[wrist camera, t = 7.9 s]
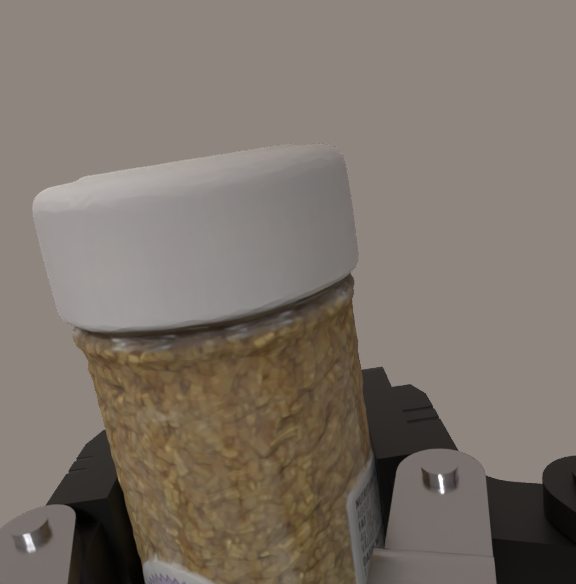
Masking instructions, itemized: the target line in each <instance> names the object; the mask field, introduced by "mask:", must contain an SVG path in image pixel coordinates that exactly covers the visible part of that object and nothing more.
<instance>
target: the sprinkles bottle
mask: <svg viewBox="0 0 576 584" xmlns="http://www.w3.org/2000/svg"><path fill="white" fill-rule="evenodd" d="M32 214H33V219H34V224H35V228H36V232H37V236H38V240H39V244H40V248H41V252H42V256H43V260H44V264H45V268H46V273H47V276H48V280H49V283H50V286H51V290H52V293H53V297H54V301H55V304H56V307H57V311H58V314H59V315H60V317H61V318H62V320H64V321H65V322H66V323H68V324H70V325H72V326H74V329H73V331H74V333H73V339H74V341H75V343H76V345H77V347H79V348H80V349H81V350H82V351H83V352H84V354H85V356H86V358H87V359H88V362H89V363H88V370H89V373H90V375H91V377H92V380H93V382H94V387H95V391H96V394H97V398H98V404H99V407H100V410H101V414H102V417H103V422H104V425H105V428H106V434H107V439H108V442H109V444H110V448H111V455H112V458H113V460H114V463H115V467H116V472H117V476H118V480H119V483H120V485H121V488H122V490H123V492H124V498H125V503H126V507H127V511H128V515H129V518H130V521H131V524H132V528H133V535H134V539H135V542H136V545H137V551H138V554H139V556H140V559H141V563H142V568H143V576H144V581H145V584H366V583H367V577H368V572H369V566H370V561H371V556H372V553H373V550H374V548H375V547H381V548H384V547H385V533H384V526H383V518H382V511H381V504H380V496H379V488H378V481H377V473H376V466H375V458H374V452H373V448H372V443H371V439H370V435H369V426H368V422H367V414H366V406H365V402H364V396H363V375H362V371H361V365H360V360H359V355H358V339H357V334H356V328H355V321H354V315H353V306H352V297H353V294H354V289H353V286H354V279H353V277H352V275H351V271H352V270H353V269H354V268H355V267H356V264H357V262H358V247H357V239H356V230H355V223H354V215H353V208H352V200H351V194H350V188H349V181H348V175H347V169H346V164H345V161H344V157H343V155H342V154H341V153H340V151H339V150H338V149H337V148H335V147H334V146H332V145H328V144H310V145H301V146H297V145H294V144H284V145H277V146H270V147H264V148H257V149H251V150H245V151H239V152H233V153H227V154H221V155H214V156H208V157H201V158H195V159H188V160H182V161H177V162H170V163H164V164H158V165H152V166H146V167H140V168H132V169H125V170H120V171H114V172H109V173H103V174H96V175H90V176H85V177H82V178H80V179H78V180H77V181H75V182H71V183H67V184H63V185H58V186H54V187H49V188H47V189H45V190H43V191H42V192H40V193H39V194H38V195H37V196H36V197H35V199H34V202H33V205H32Z"/></svg>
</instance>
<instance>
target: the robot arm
mask: <svg viewBox="0 0 576 584" xmlns="http://www.w3.org/2000/svg"><path fill="white" fill-rule="evenodd" d="M361 371H362V375H363V396H364V402H365V406H366V414H367V422H368V426H369V435H370V439H371V443H372V448H373V452H374V458H375V466H376V473H377V481H378V488H379V496H380V504H381V511H382V518H383V526H384V533H385V547H384V548H381V547H375V548H374V550H373V553H372V556H371V561H370V566H369V572H368V577H367V583H366V584H576V456H569V457H564V458H561V459H558V460H555V461H553V462H552V463H551V464H549V465H548V466H547V467H546V468H545V470H544V472H543V477H542V480H543V484H536V483H521V482H510V481H503V480H498V479H494V478H491V477H488V476H486V475H485V470H484V468H483V467H482V465H481V464H480V463H479V462H478V461H477V460H476V459H475V458H473V457H471V456H470V455H468V454H465V453H463V452H460V451H458V449H457V448H456V446H455V444H454V442H453V440H452V439H451V437H450V435H449V433H448V432H447V430H446V428H445V426H444V425H443V423H442V421H441V419H439V416H438V414H437V412H436V411H435V409H434V408H433V405H432V404H431V402H430V400H429V398H428V397H427V395H426V393H424V392H422V391H421V390H419V389H417V388H416V387H414V386H412V385H410V384H409V385H403V386H396V387H391V384H390V382H389V380H388V378H387V375H386V373H385V371H384V369H383V367H377V368H370V369H364V370H361ZM0 584H145V581H144V576H143V568H142V563H141V559H140V556H139V554H138V551H137V545H136V542H135V539H134V535H133V528H132V524H131V521H130V518H129V515H128V511H127V507H126V503H125V498H124V492H123V490H122V488H121V485H120V483H119V480H118V476H117V472H116V467H115V463H114V460H113V458H112V455H111V448H110V444H109V442H108V439H107V434H106V430H103V431H102V432H101V433H99V434H98V435H97V436H96V437H94V438H93V439H92V440H91V441H89V442H88V443H87V444H86V445H85V447H84V448H83V450H82V451H81V453H80V454H79V456H78V457H77V461H75V462H74V463H73V465H72V466H71V468H70V469H69V474H66V475H65V477H64V478H63V480H62V481H61V483H60V485H59V486H58V487H57V489H56V490H55V492H54V493H53V495H52V497H51V498H50V500H49V501H48V503H47V504H46V506H43V507H39V508H36V509H33V510H30V511H28V512H26V513H23V514H21V515H20V516H18V517H16V518H14V519H13V520H11V521H10V522H8V523H7V524H5V525H4V526H3V527H2V528H1V529H0Z"/></svg>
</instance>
